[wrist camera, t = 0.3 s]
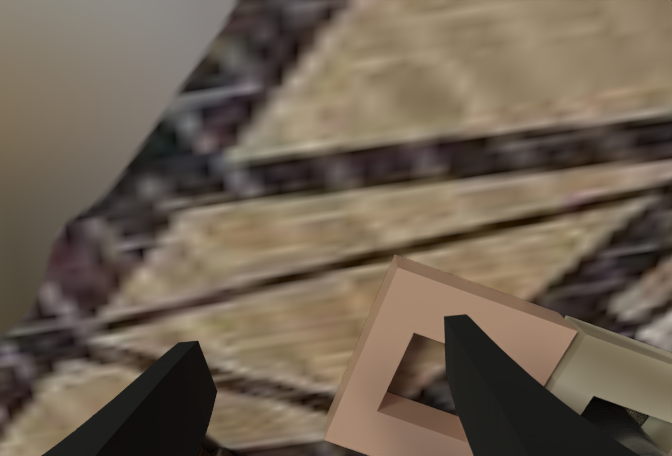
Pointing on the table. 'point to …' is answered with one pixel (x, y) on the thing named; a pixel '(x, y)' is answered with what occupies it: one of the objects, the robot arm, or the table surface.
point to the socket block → (428, 320)
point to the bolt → (215, 452)
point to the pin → (620, 427)
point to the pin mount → (616, 377)
